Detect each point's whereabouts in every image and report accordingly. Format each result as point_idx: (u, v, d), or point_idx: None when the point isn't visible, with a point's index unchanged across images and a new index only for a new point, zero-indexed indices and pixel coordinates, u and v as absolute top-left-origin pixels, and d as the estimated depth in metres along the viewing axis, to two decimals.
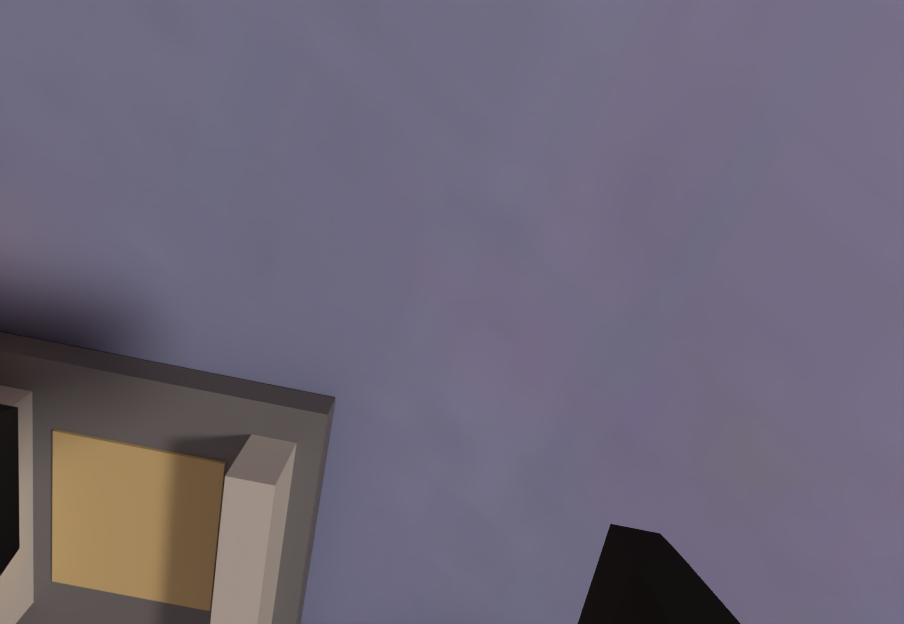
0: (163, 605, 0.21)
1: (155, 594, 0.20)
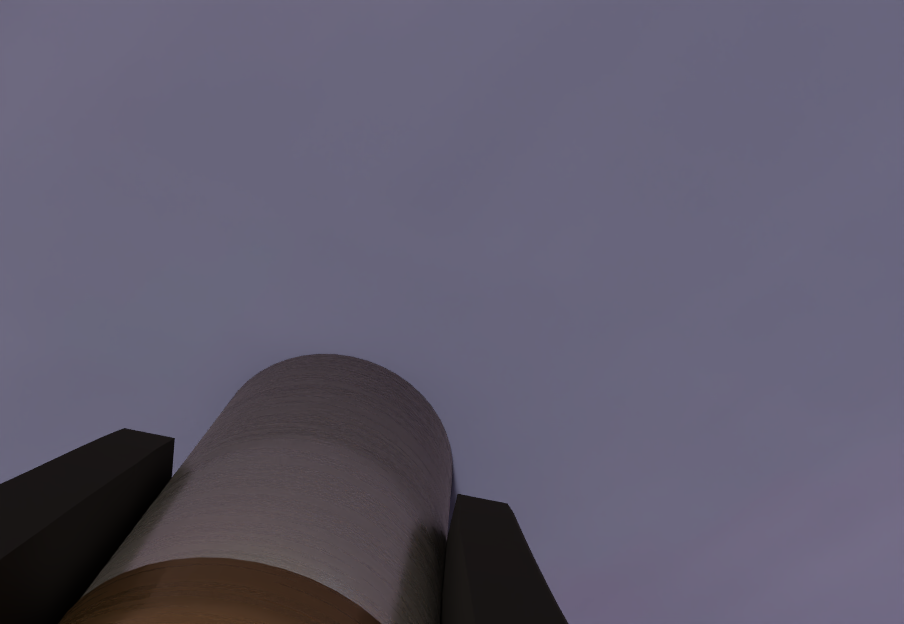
0: None
1: None
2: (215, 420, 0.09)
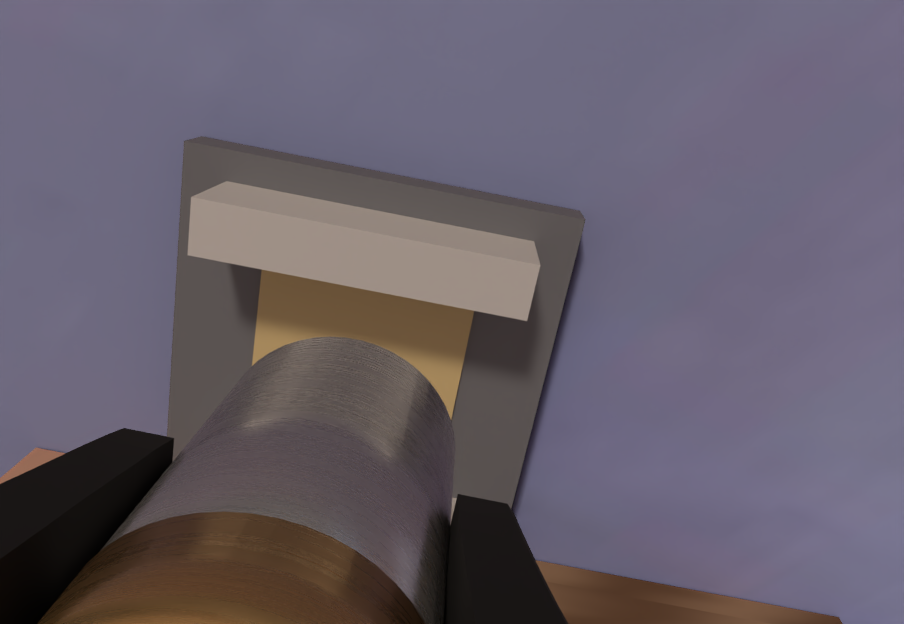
0: (471, 362, 0.17)
1: (453, 368, 0.17)
2: None
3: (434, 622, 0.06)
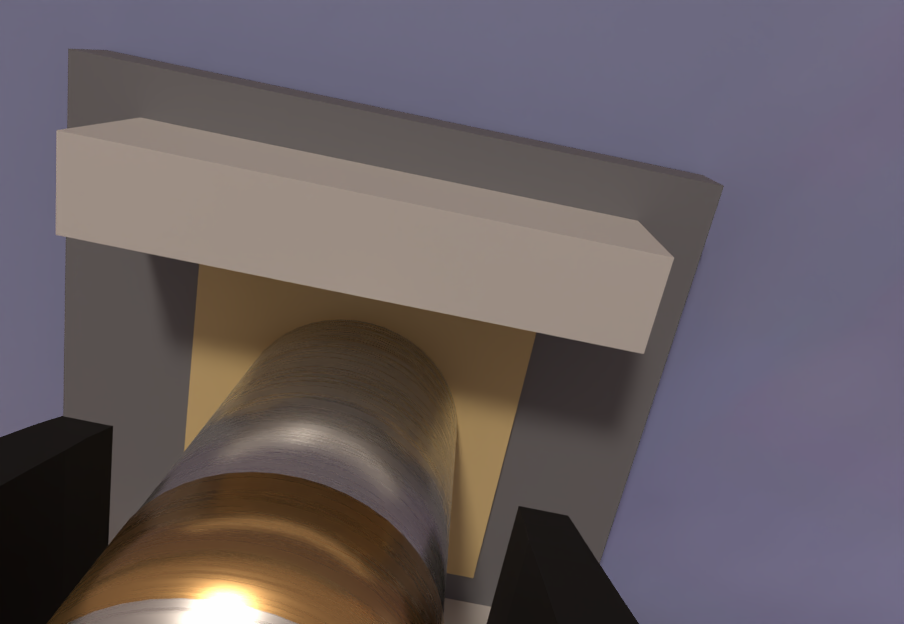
0: (528, 409, 0.11)
1: (500, 419, 0.11)
2: (245, 373, 0.10)
3: (438, 573, 0.07)
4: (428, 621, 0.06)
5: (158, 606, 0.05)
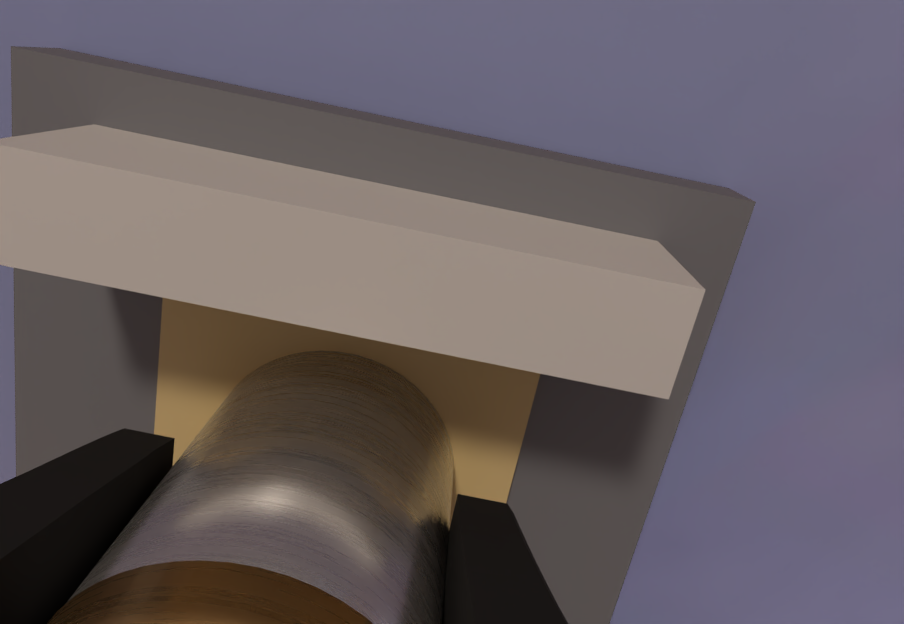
0: (533, 450, 0.10)
1: (501, 461, 0.10)
2: (213, 414, 0.09)
3: None
4: None
5: None
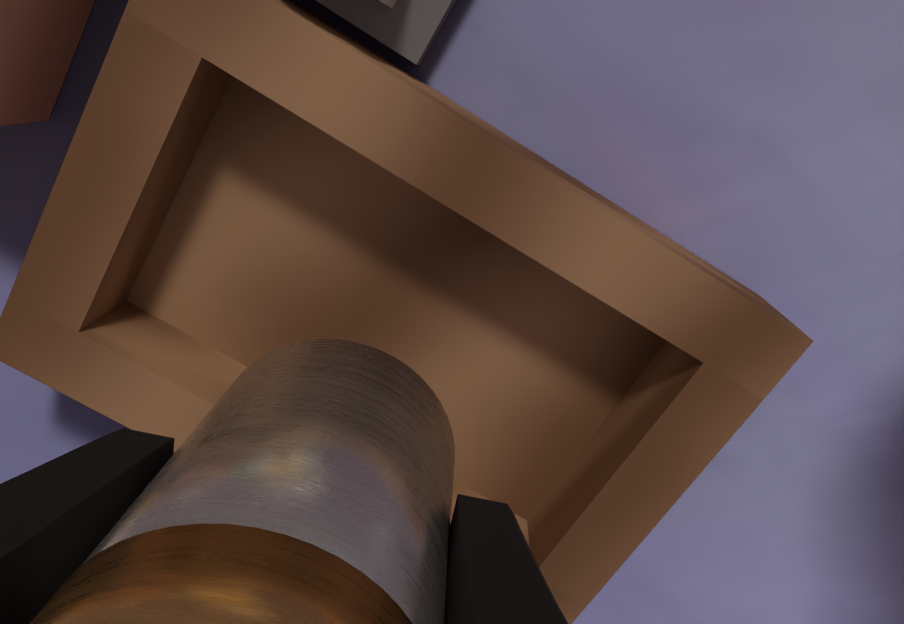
0: None
1: None
2: None
3: None
4: None
5: None
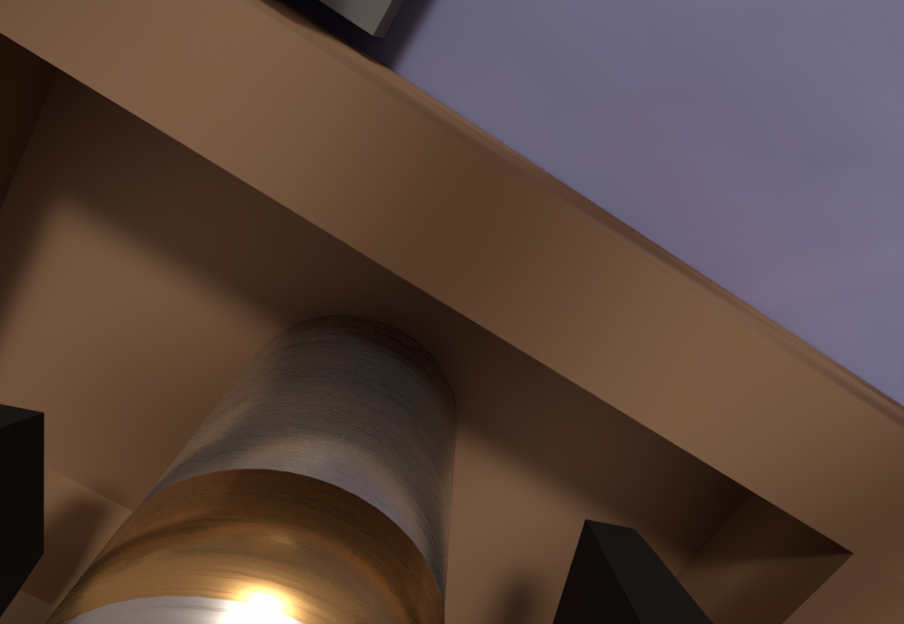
0: None
1: None
2: (240, 375, 0.10)
3: (436, 560, 0.07)
4: (424, 607, 0.06)
5: (144, 606, 0.05)
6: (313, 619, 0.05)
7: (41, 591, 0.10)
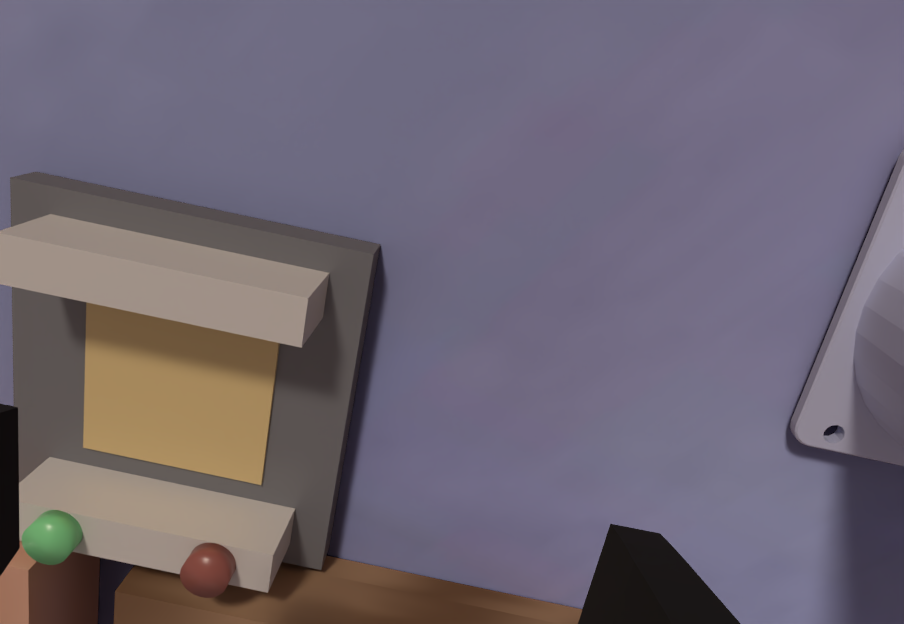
0: (282, 381, 0.18)
1: (265, 386, 0.18)
2: None
3: None
4: None
5: None
6: None
7: None
